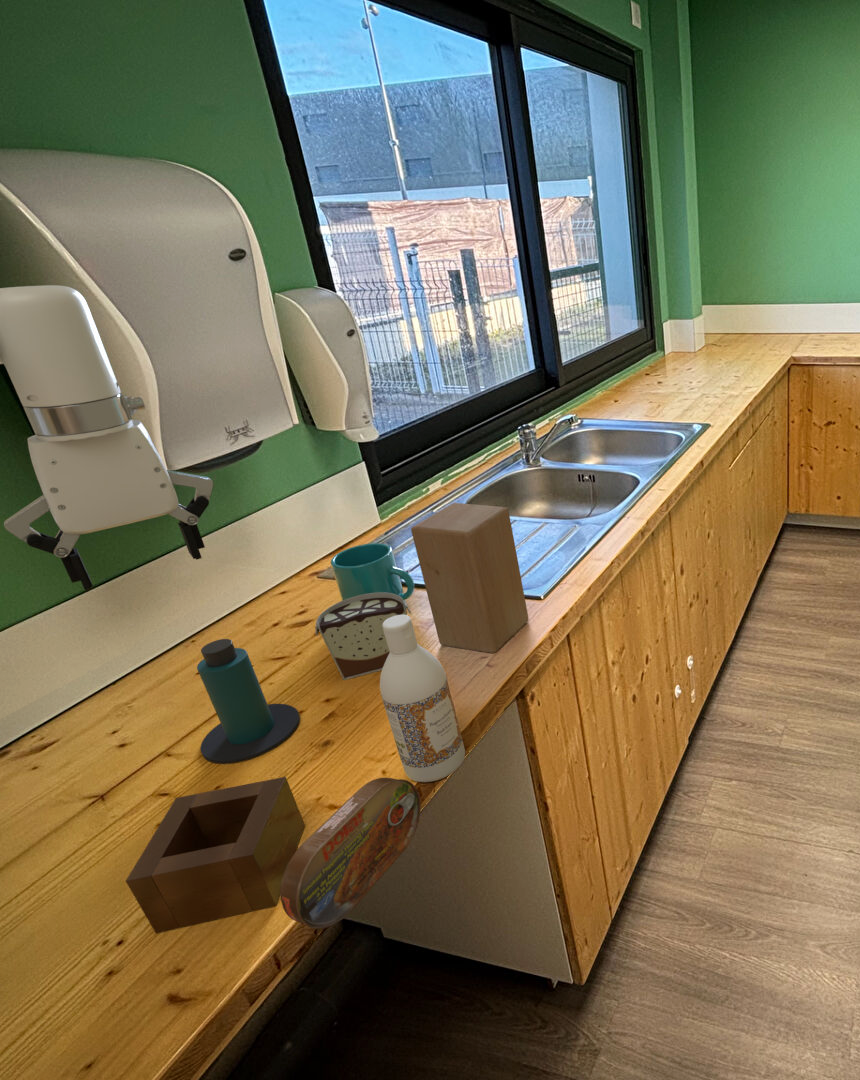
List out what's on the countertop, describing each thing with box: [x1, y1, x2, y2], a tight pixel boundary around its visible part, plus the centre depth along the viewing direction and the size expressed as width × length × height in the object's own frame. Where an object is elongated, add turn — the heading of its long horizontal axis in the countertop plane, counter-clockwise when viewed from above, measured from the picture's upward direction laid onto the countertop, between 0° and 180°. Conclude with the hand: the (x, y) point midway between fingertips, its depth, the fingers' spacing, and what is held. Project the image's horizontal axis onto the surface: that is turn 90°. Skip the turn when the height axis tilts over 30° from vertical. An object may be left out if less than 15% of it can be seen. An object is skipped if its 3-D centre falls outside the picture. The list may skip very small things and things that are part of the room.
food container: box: [314, 592, 412, 681], centre depth 102 cm, size 12×6×10 cm, turn 115°
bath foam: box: [379, 614, 466, 783], centre depth 80 cm, size 7×7×20 cm
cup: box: [330, 542, 415, 603], centre depth 114 cm, size 9×12×11 cm
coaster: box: [200, 703, 301, 765], centre depth 90 cm, size 11×11×1 cm
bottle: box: [196, 638, 274, 744], centre depth 87 cm, size 5×5×13 cm
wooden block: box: [410, 502, 529, 654], centre depth 106 cm, size 10×10×20 cm
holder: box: [125, 776, 306, 934], centre depth 69 cm, size 10×10×7 cm
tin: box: [279, 777, 422, 930], centre depth 68 cm, size 15×3×8 cm, turn 161°
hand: (143, 569), depth 77 cm, fingers open, 9 cm apart
